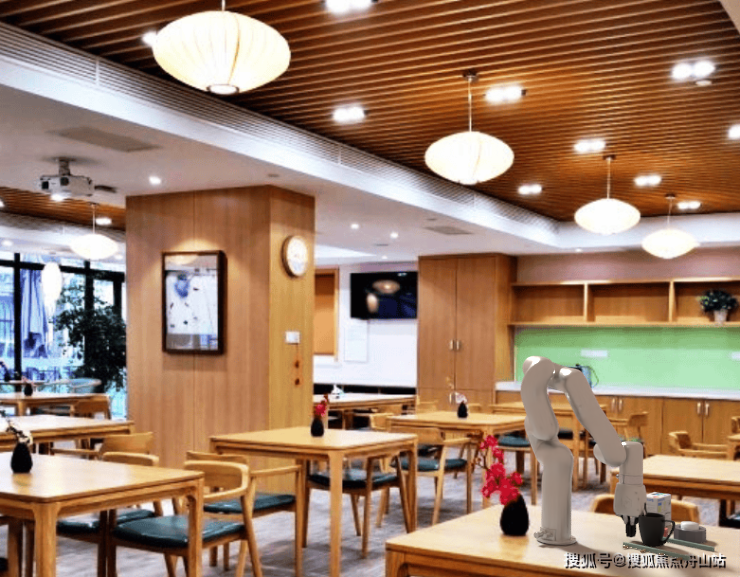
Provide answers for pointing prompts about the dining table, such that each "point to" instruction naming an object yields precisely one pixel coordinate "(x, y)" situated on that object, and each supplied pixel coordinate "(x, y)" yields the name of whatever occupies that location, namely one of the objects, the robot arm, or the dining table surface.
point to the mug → (653, 529)
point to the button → (689, 525)
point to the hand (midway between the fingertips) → (630, 536)
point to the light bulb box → (660, 505)
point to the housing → (690, 534)
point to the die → (666, 532)
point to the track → (662, 552)
